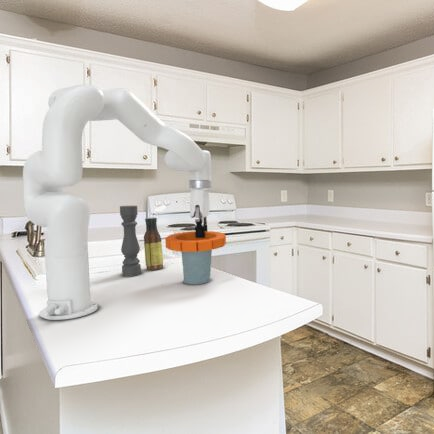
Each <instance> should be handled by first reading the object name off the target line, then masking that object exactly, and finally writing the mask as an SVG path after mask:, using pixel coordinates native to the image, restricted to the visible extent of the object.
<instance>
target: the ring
mask: <svg viewBox="0 0 434 434" xmlns="http://www.w3.org/2000/svg"><path fill="white" fill-rule="evenodd" d="M164 240H165V248H166V249H168V250H169V251H173V252H174V251H175V252H181V251H182V252H197V251H207V250H212V251H213V250H217V249H221V248H223V247H225V246H226V244H227V235H226V234H225V233H223V232H220V231H213V230H210V231H209V230H207V231H205V237H204V238H196V237H195V230H192V231H182V232H177V233H174V234H173V233H172V234H169V235H168V236H166V237H165V239H164Z"/></svg>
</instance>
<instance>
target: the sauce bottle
mask: <svg viewBox="0 0 434 434" xmlns="http://www.w3.org/2000/svg"><path fill="white" fill-rule="evenodd" d="M144 222H145V233H144V235H143V248H144V258H145V259H144V260H145V266H146V267H145V268H146V270H148V271H156V270H157V271H158V270H161V269H163V268H164V255H163V245H162V244H163V243H162V236H161V234H160V233H159V231H158V224H157V222H158V218H157V217H154V216H153V217H152V216H151V217H145V218H144Z"/></svg>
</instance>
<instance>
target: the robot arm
mask: <svg viewBox="0 0 434 434" xmlns="http://www.w3.org/2000/svg"><path fill="white" fill-rule="evenodd" d="M47 104H48V109H47V111H46V113H45V116H44V119H43V122H42V131H41V133H42V135H41V150H39V151H38V150H37V151H36V152H33V153H32V154H30V155H29V156H28V157H27V159H26V160H25V162H24V165H23V167H22V168H23V169H22V187H23V189H22V190H23V207H24V212H25V215H26V217H27V219H28V220H29V221H30V222H31V223H32V224H33V225H35V226H38V227H42V228H46V232H45V237H44V243H43V244H44V249H43V251H44V261H45V262H44V263H45V278H46V291H47V293H46V294H47V306H46V307H45V308H43V309H41V310H39V317H41V318H43V319H44V320H50V321H61V320H62V321H63V320H71V319H77V318H80V317H81V318H82V317H85V316H89V315H90V314H92V313H95V312H96V311H97V310H98V307H99V306H98V302H96V301H92V300H91V299H92V297H91V280H90V279H91V278H90V264H89V261H90V260H89V249H88V248H89V246H88V245H89V244H88V235H89V234H88V233H89V224H90V217H91V213H90V212H91V211H90V207H89V205H88V203H87V201H86V200H85V199H84V198H83V197H82V196H80V195H78V194H75V193H72V192H64V188H68V187H69V188H70V187H73V186H75V185H77V184H79V183H80V182H81V180H82V177H83V172H84V171H83V147H82V146H83V133H84V129H85V127H86V125H87V123H88V122H90V121H91V122H96V121H97V122H99V121H100V122H101V121H114V120H117V121H119V122H120V123H121V124H122V125H123V126H124V127H126V128H127V129H128V130H129V131H130V132H131V133H132V134H133V135H135V137H137V138H138V139H139V140H140V141H142V142H143V143H145V144H149V145H151V146H154V147H158V148H162V149H164V150H167V152H166V153H165V154H164V164H165V166H166V167H167V168H169V169H170V170H172V171H175V172H186V171H187V172H188V190H190V197H189V198H190V200H189V201H190V202H189V210H190V211H189V216H190V217H189V218H191V219H194V231H195V237H196V238H204V237H205V231H208V216H209V215H210V192H209V190H212V155H211V152H210V151H208V150H206V149H202V148H201V147H200V146H199V145H198V144H197V143H196V142H195V141H194V140H193V139H192V138H191V137H190V136H189V135H187V134H186V133H184V132H182V131H180V130H178V129H177V128H174V127H173V126H171V125H170V124H168V123H165V122H164V121H162V120H161V119H160V118H159V117H158V116H157V115H156V114H154V113H153V111H151V109H150V108H149V107H148V106H147V105H145V103H143V102H142V100H140V99H139V97H137V95H135V94H134V93H133V92H132V91H130V90H129V89H126V88H121V87H120V88H119V87H118V88H111V89H105V90H101V89H100V88H99V87H97V86H95V85H93V84H86V83H85V84H78V85H71V86H67V87H63V88H58V89H56V90H54V91H52V92H51V93H50V95H49V97H48V102H47Z"/></svg>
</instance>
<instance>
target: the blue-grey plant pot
mask: <svg viewBox="0 0 434 434" xmlns="http://www.w3.org/2000/svg"><path fill="white" fill-rule="evenodd" d="M212 253H213V249H212V250H207V251H197V252H182V251H181V263H182V273H183V283H184V284H186V285H203V284H207V283H209V282H210V281H211V271H212V270H211V269H212V267H211V266H212Z"/></svg>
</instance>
